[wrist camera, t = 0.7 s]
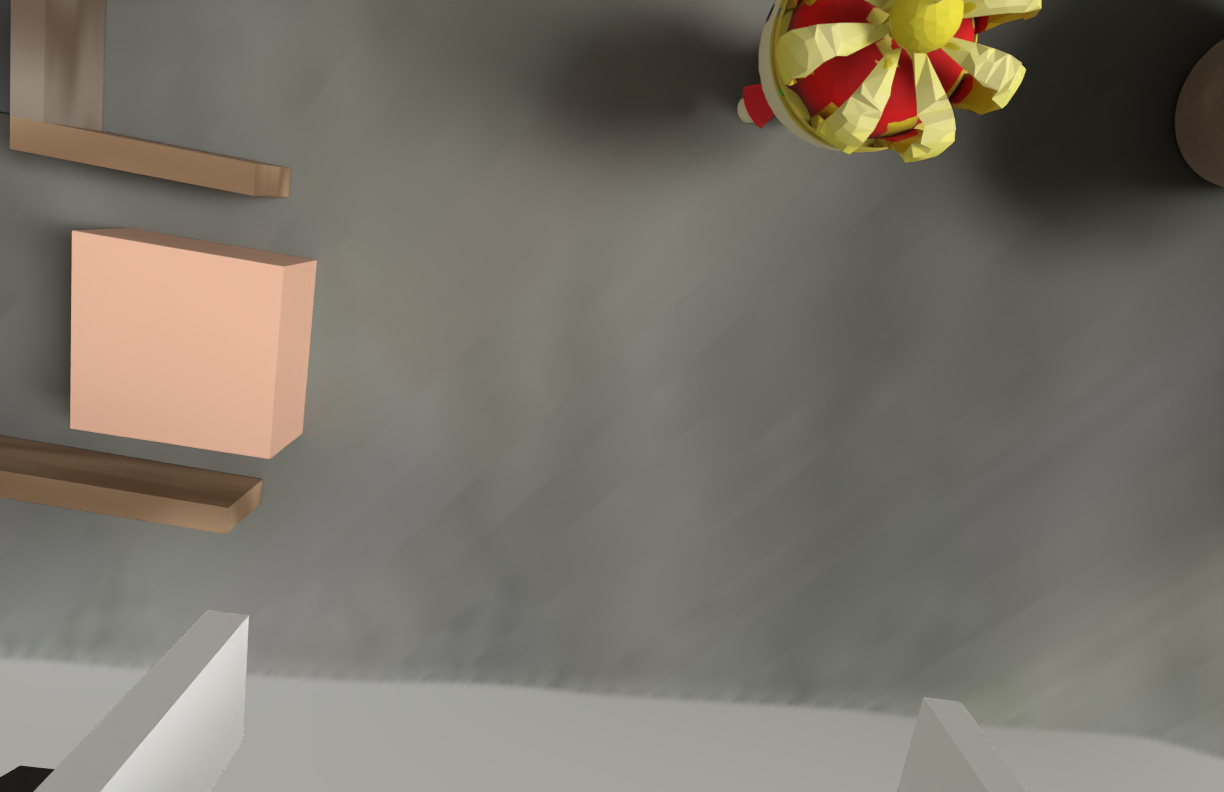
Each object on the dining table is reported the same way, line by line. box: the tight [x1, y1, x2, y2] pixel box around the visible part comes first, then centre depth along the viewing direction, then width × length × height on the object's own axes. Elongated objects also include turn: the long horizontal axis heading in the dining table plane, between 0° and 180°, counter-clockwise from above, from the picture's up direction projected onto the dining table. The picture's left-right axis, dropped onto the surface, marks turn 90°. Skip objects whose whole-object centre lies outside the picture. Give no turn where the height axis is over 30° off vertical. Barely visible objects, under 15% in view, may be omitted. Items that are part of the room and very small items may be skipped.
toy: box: [737, 0, 1042, 163], centre depth 25 cm, size 7×7×15 cm
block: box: [70, 228, 317, 459], centre depth 32 cm, size 8×8×4 cm
